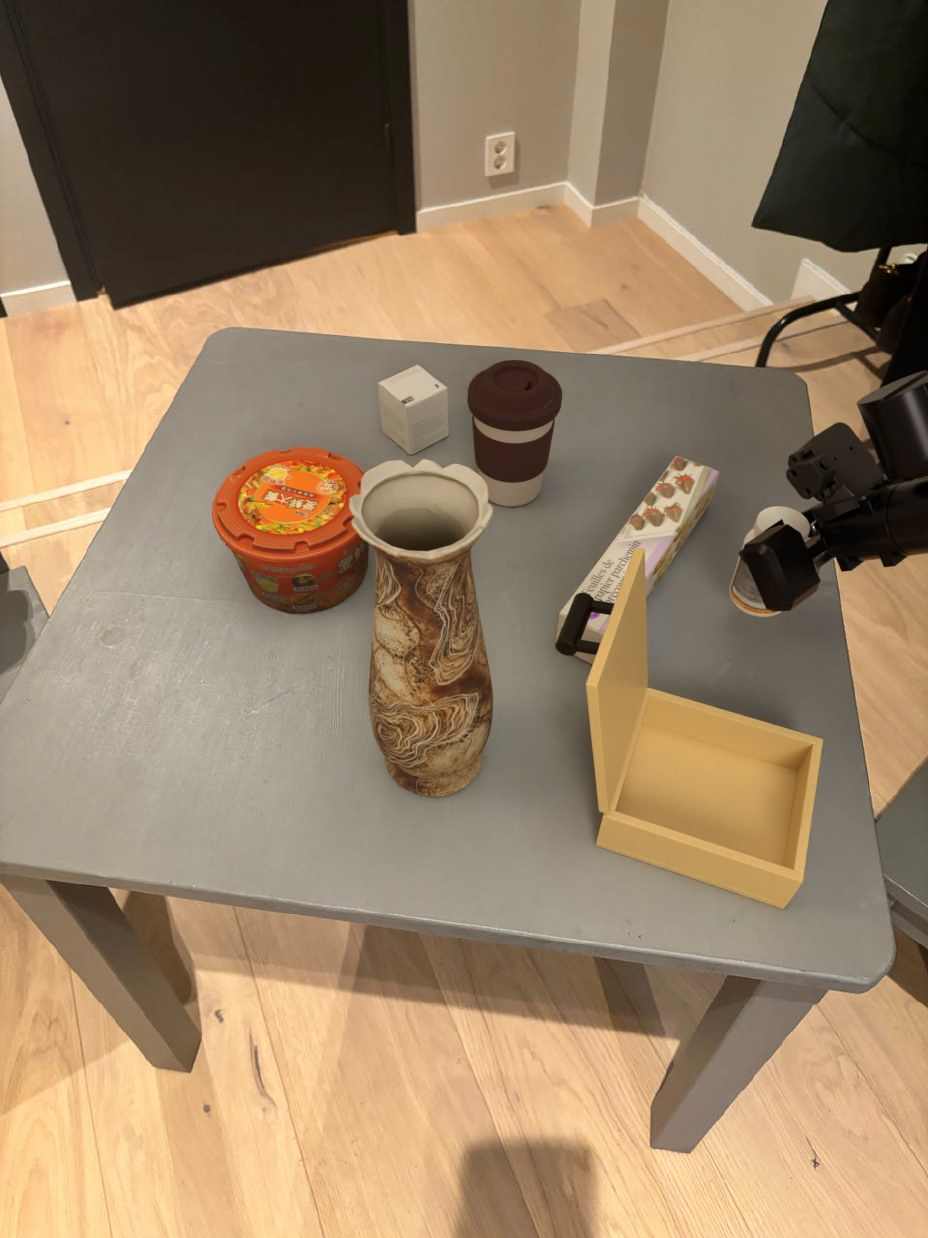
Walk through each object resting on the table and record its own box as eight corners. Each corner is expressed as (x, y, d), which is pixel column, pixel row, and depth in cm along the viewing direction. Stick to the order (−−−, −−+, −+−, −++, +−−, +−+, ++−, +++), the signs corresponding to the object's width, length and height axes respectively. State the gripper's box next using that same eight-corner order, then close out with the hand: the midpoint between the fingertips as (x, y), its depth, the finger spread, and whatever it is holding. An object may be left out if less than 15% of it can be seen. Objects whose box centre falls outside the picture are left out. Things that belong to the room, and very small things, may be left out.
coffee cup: (450, 481, 105) (448, 371, 93) (516, 448, 108) (522, 339, 97) (502, 529, 100) (508, 419, 88) (570, 493, 103) (583, 383, 92)
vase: (376, 806, 78) (339, 570, 55) (375, 705, 84) (342, 456, 62) (496, 799, 78) (509, 561, 55) (485, 698, 85) (493, 450, 62)
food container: (217, 625, 91) (192, 551, 82) (246, 515, 101) (227, 439, 93) (374, 629, 90) (365, 555, 82) (388, 518, 101) (381, 443, 92)
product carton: (420, 412, 113) (417, 362, 107) (450, 436, 110) (449, 386, 104) (380, 431, 111) (376, 381, 105) (410, 457, 107) (407, 406, 102)
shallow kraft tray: (805, 770, 80) (823, 738, 76) (783, 910, 72) (803, 882, 68) (634, 718, 84) (643, 685, 79) (595, 845, 75) (602, 815, 71)
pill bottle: (793, 620, 86) (824, 546, 78) (732, 619, 86) (757, 545, 78) (780, 576, 89) (809, 502, 82) (722, 575, 89) (745, 501, 82)
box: (600, 670, 87) (607, 634, 83) (552, 647, 89) (557, 610, 85) (710, 507, 102) (721, 469, 98) (667, 490, 104) (676, 452, 99)
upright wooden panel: (645, 548, 67) (588, 540, 69) (597, 686, 59) (533, 674, 61) (648, 683, 79) (599, 674, 81) (608, 814, 71) (555, 801, 72)
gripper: (944, 376, 71) (794, 422, 85) (794, 472, 64) (657, 505, 78) (991, 502, 73) (837, 527, 87) (851, 610, 66) (708, 618, 80)
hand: (763, 541), depth 83 cm, fingers closed on pill bottle, 6 cm apart
